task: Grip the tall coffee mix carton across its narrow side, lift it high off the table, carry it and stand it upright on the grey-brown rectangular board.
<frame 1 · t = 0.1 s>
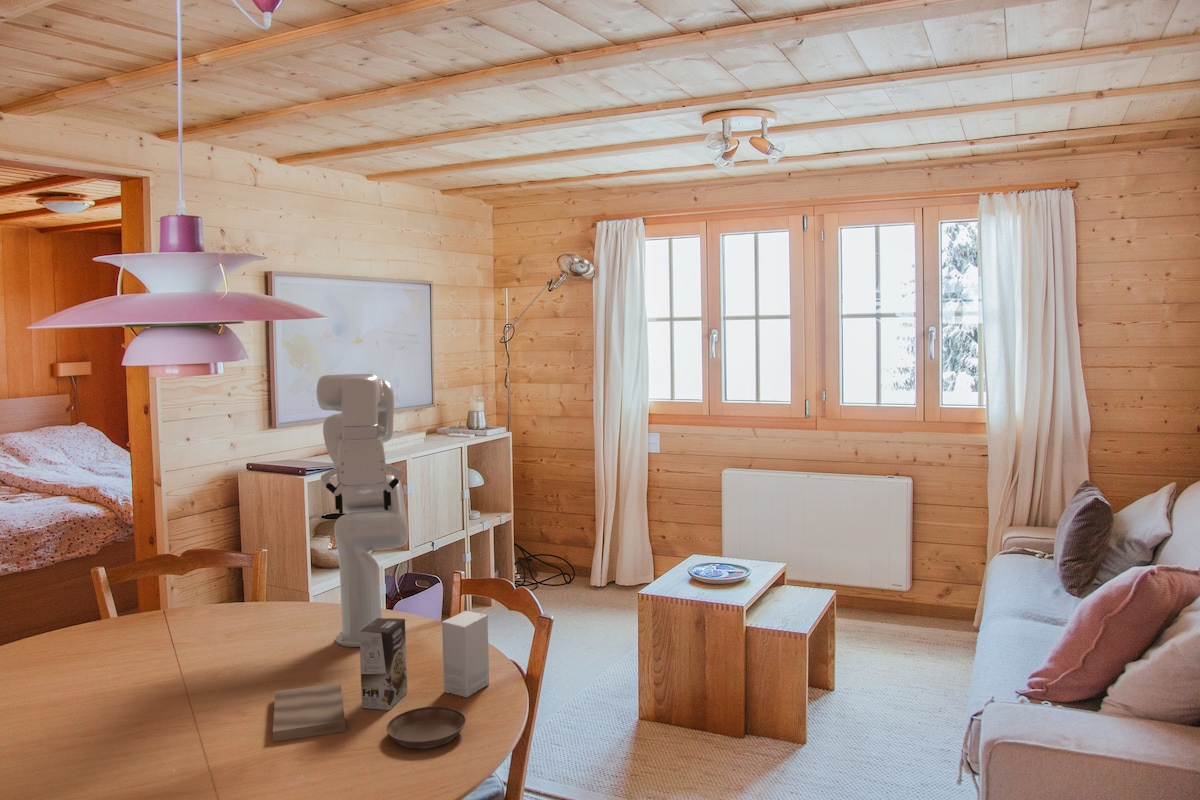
hand: (363, 511, 198), 37 cm above the table, tool pointing down, fingers open, 9 cm apart
grey-brown rectangular board: (309, 715, 180), on the table
coffee box: (385, 701, 187), on the table
saucer: (427, 737, 171), on the table
skincare box: (467, 689, 192), on the table
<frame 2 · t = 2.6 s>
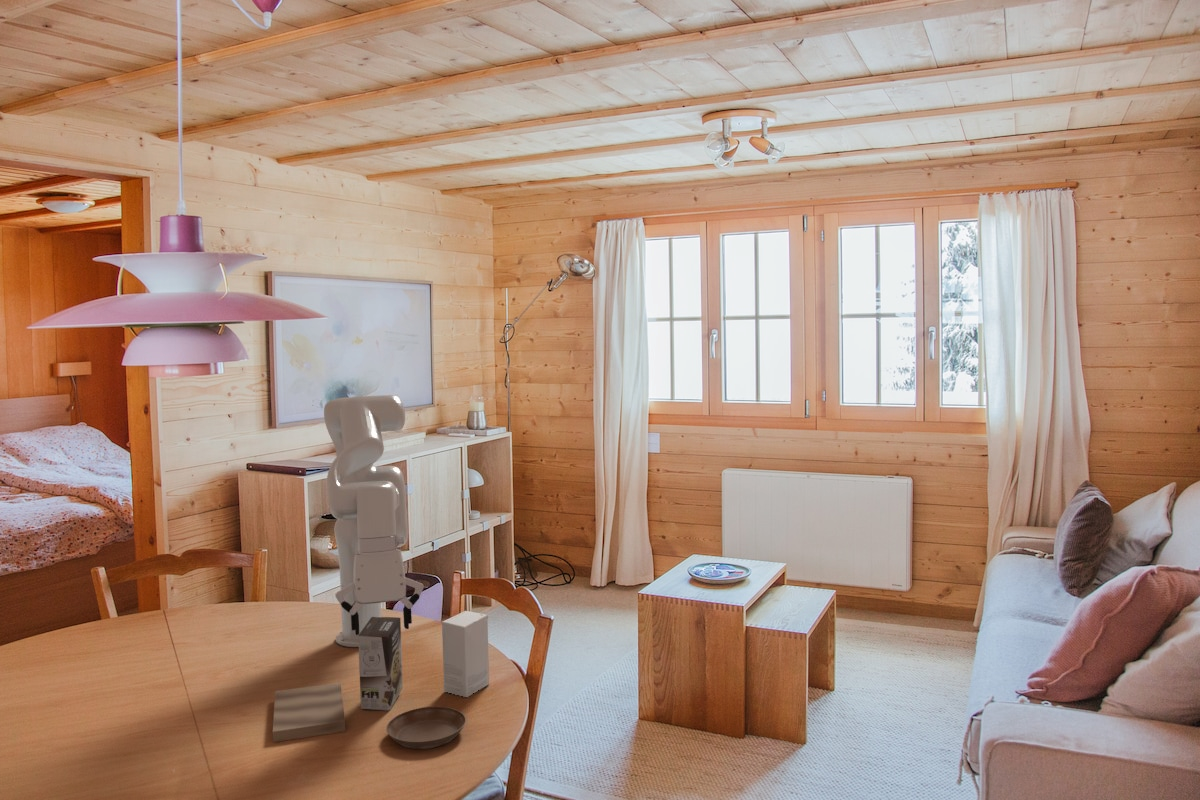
hand: (382, 630, 182), 16 cm above the table, tool pointing down, fingers open, 9 cm apart
coffee box: (382, 699, 187), on the table, touching gripper
everything else where it was.
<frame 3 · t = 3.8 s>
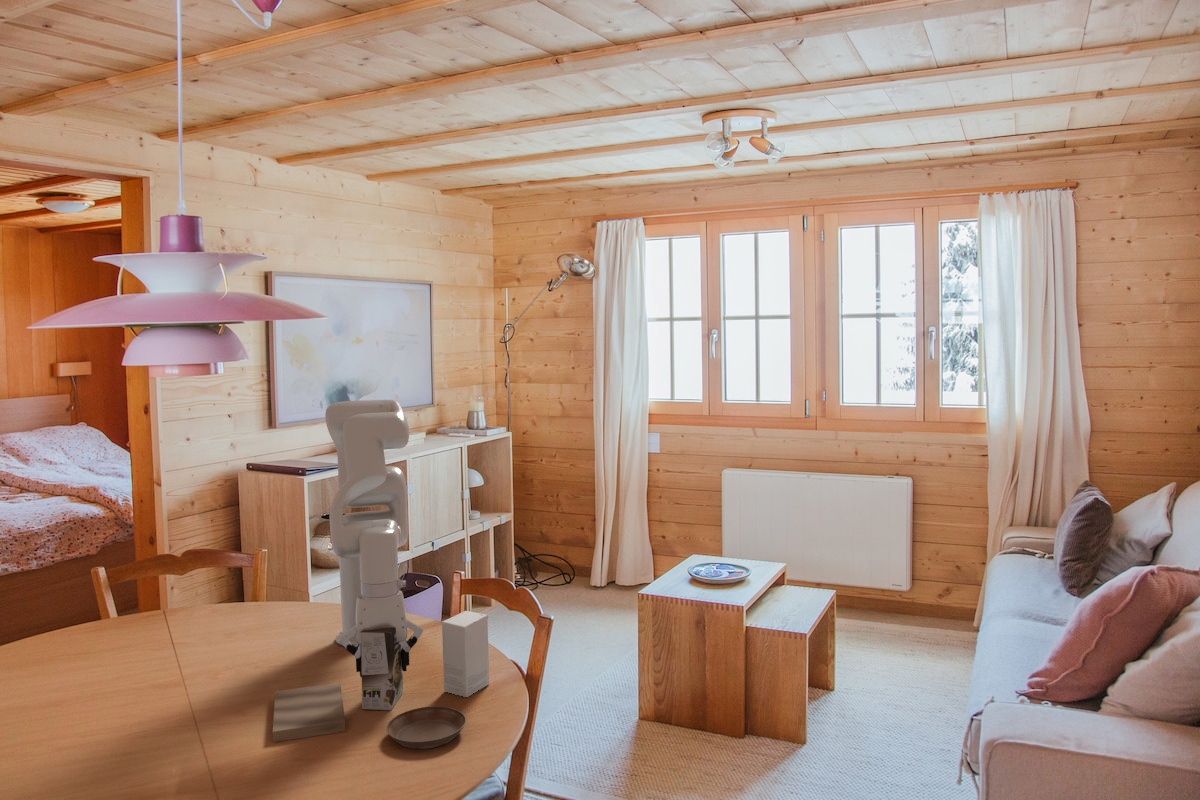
hand: (383, 671, 186), 6 cm above the table, tool pointing down, fingers closed on coffee box, 8 cm apart
coffee box: (383, 701, 187), on the table, touching gripper
everything else where it was.
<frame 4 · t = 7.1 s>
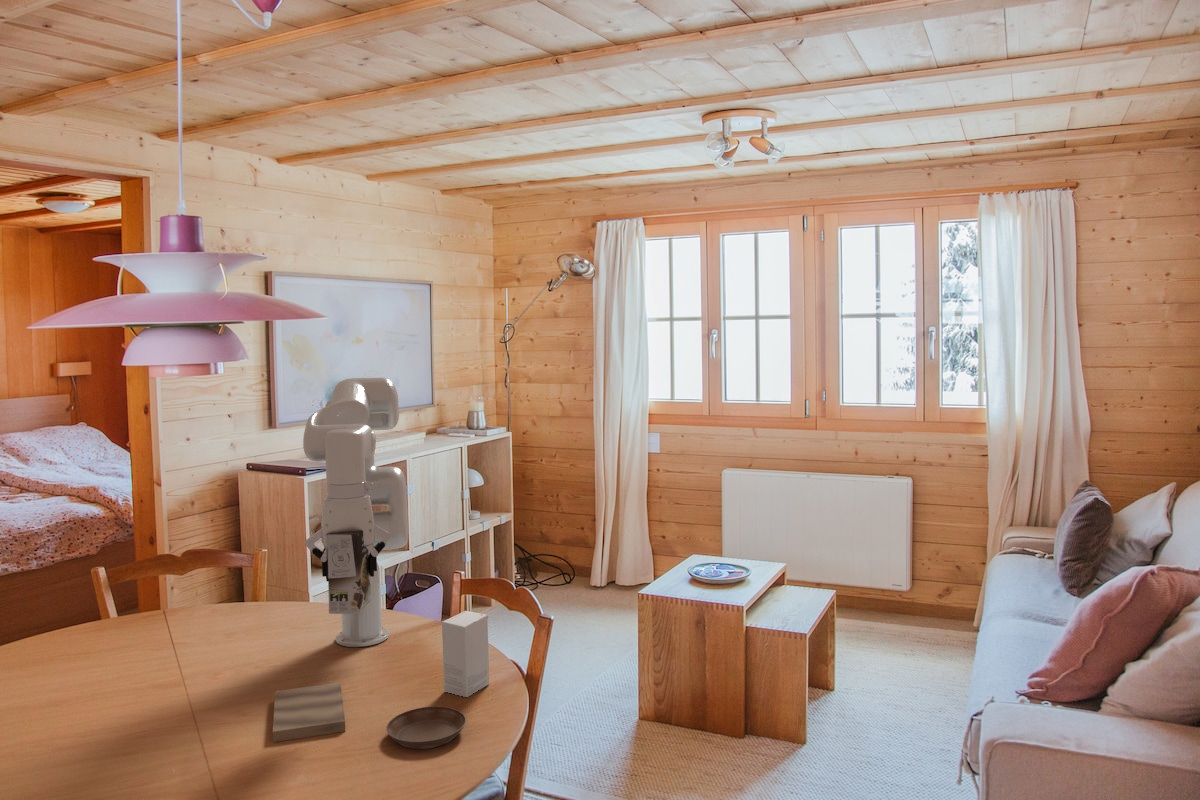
hand: (350, 576, 182), 27 cm above the table, tool pointing down, fingers closed on coffee box, 7 cm apart
coffee box: (350, 608, 182), point 20 cm above the table, touching gripper
everything else where it was.
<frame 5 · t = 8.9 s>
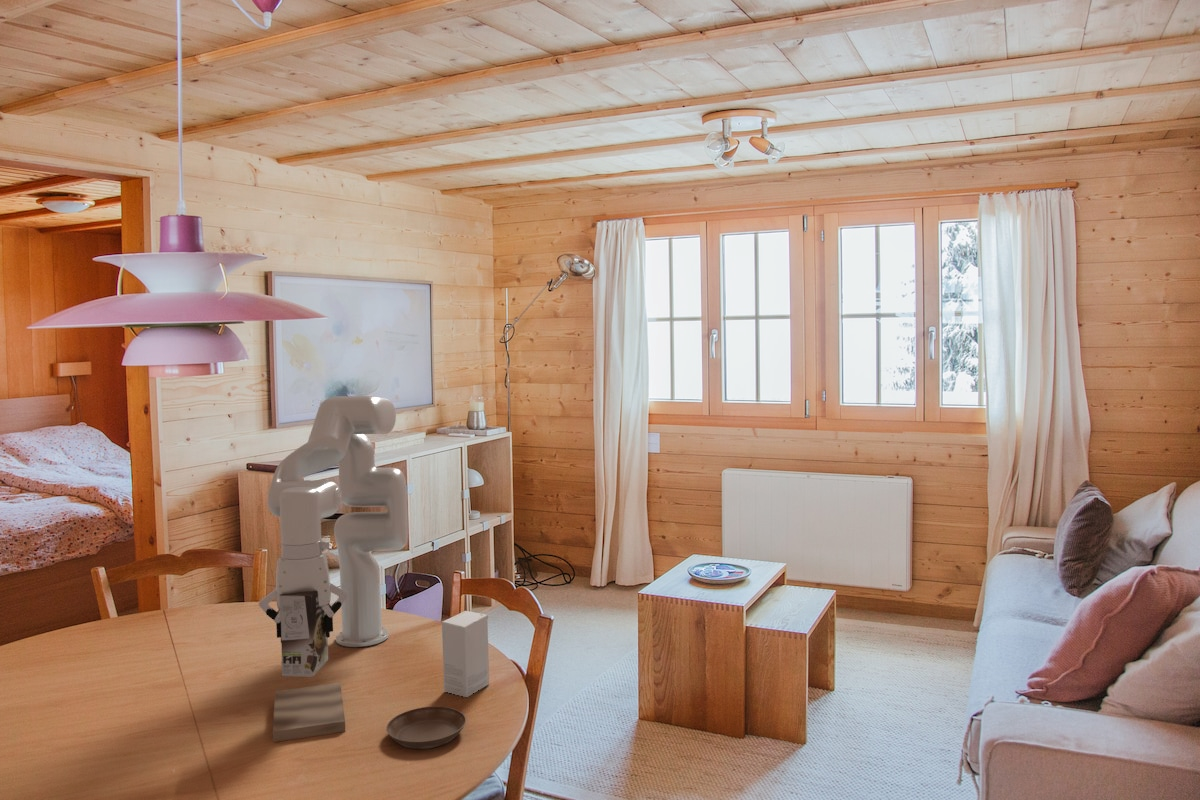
hand: (305, 637, 179), 16 cm above the table, tool pointing down, fingers closed on coffee box, 7 cm apart
coffee box: (306, 669, 179), point 10 cm above the table, touching gripper
everything else where it was.
when the fingers open (9 cm above the table, at t = 10.6 s): coffee box drops 1 cm, resting on grey-brown rectangular board.
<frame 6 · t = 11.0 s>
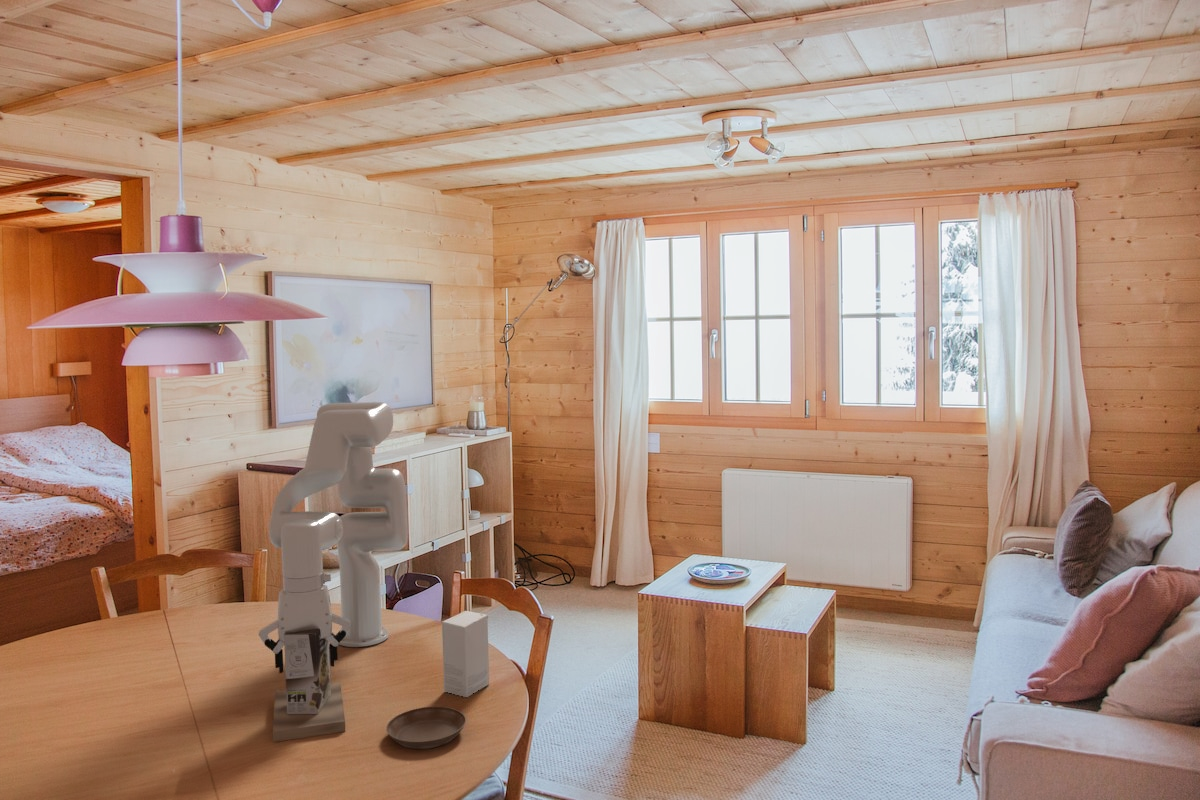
hand: (307, 667, 179), 10 cm above the table, tool pointing down, fingers open, 9 cm apart
coffee box: (309, 706, 180), point 2 cm above the table, touching grey-brown rectangular board
everything else where it was.
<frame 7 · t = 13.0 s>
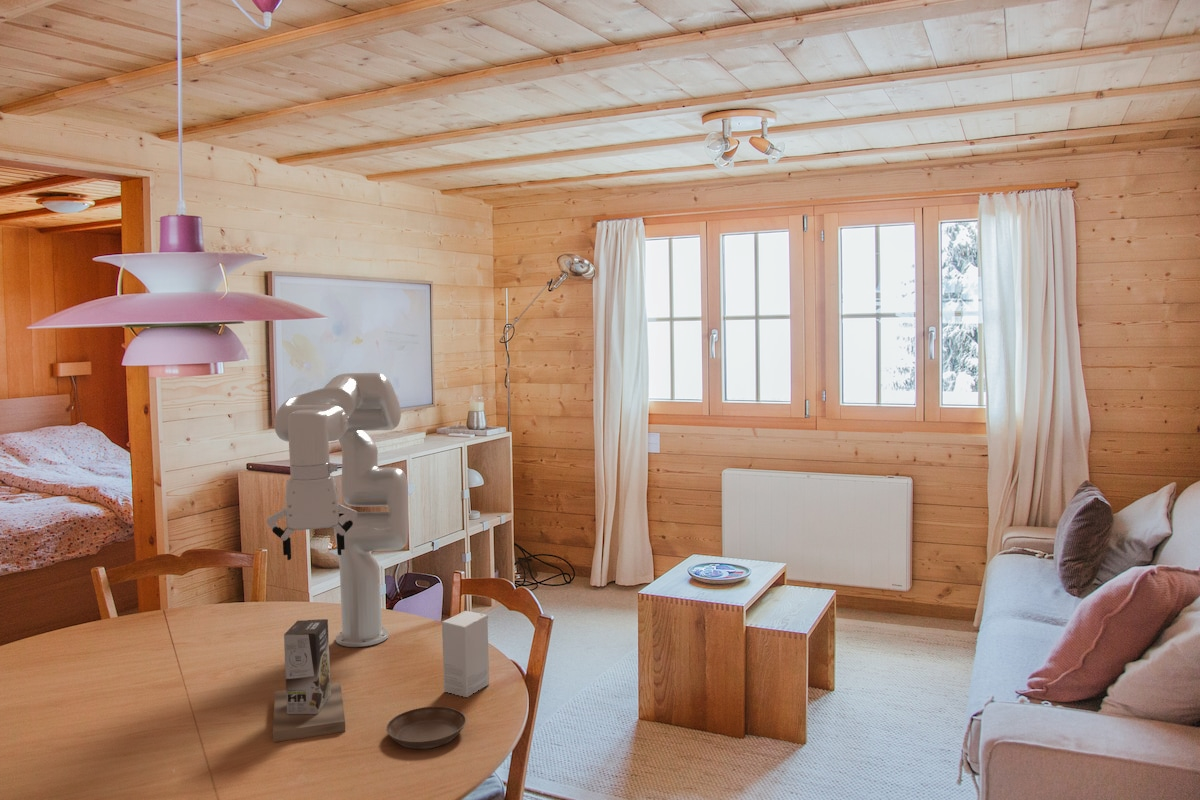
hand: (314, 555, 182), 31 cm above the table, tool pointing down, fingers open, 9 cm apart
nothing on the table moved.
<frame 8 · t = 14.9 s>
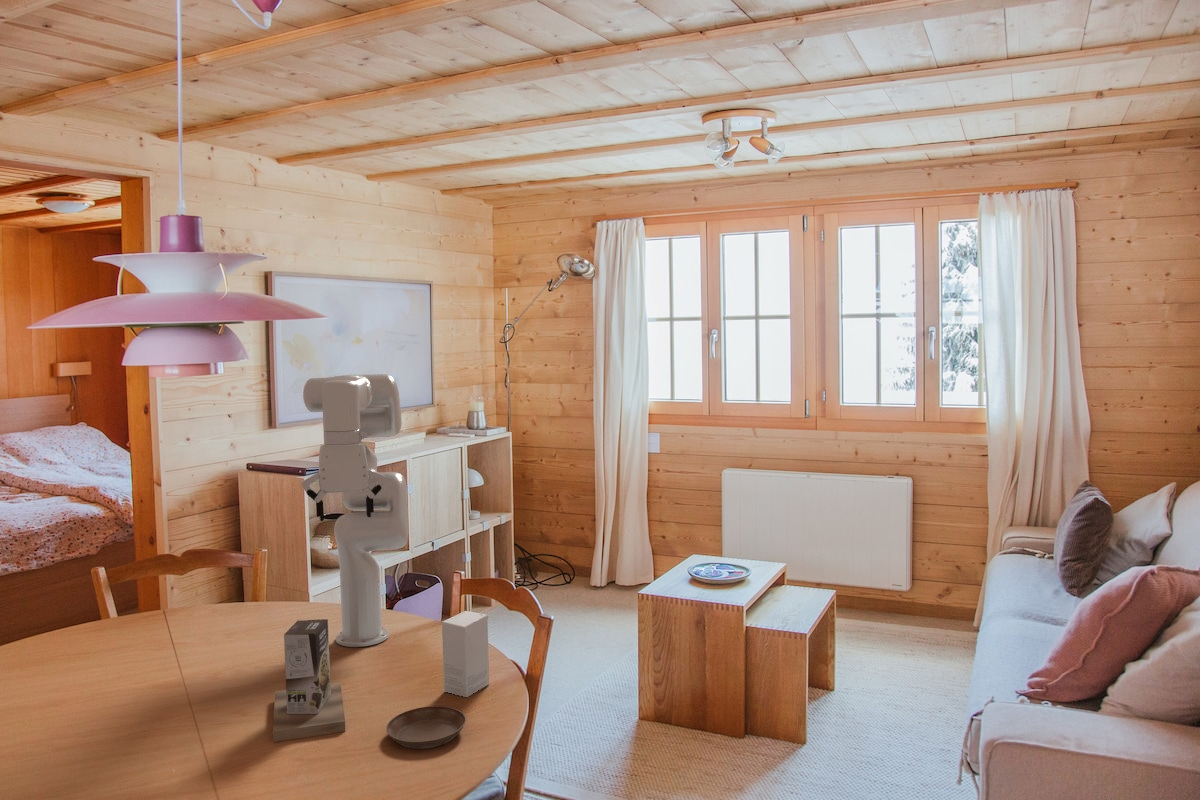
hand: (345, 517, 193), 36 cm above the table, tool pointing down, fingers open, 9 cm apart
nothing on the table moved.
at the end: coffee box inside the target area on the grey-brown rectangular board (0.2 cm from its centre), point 1.8 cm above the grey-brown rectangular board's base; coffee box tilted 0°; the gripper is holding nothing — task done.
